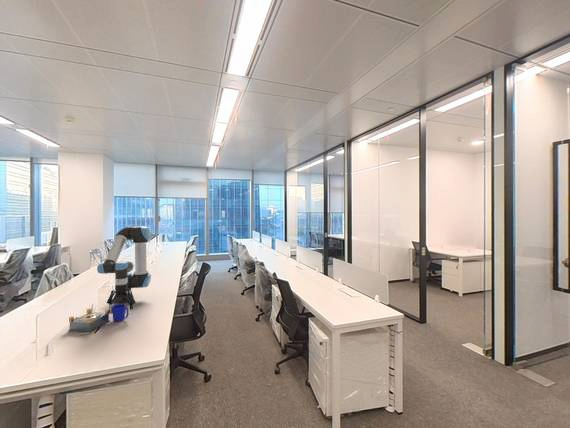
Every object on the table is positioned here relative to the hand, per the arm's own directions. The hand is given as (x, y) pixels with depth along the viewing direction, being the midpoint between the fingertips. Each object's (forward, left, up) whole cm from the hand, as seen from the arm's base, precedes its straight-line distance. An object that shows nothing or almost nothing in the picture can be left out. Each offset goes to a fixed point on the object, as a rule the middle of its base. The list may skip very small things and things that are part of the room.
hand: (120, 313), depth 183 cm
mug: (0, 0, -5) cm, 5 cm away
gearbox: (+11, -14, -5) cm, 18 cm away
